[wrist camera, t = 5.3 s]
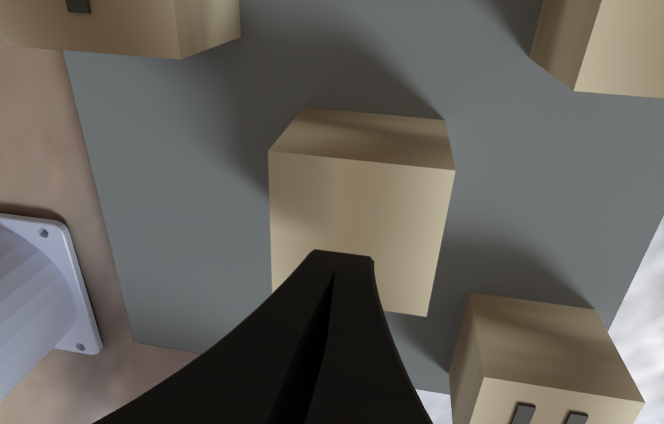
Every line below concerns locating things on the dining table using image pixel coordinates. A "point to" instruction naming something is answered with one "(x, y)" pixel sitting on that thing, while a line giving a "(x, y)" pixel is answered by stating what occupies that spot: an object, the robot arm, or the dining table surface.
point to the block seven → (603, 45)
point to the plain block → (363, 197)
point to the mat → (378, 98)
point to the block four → (537, 366)
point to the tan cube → (121, 25)
